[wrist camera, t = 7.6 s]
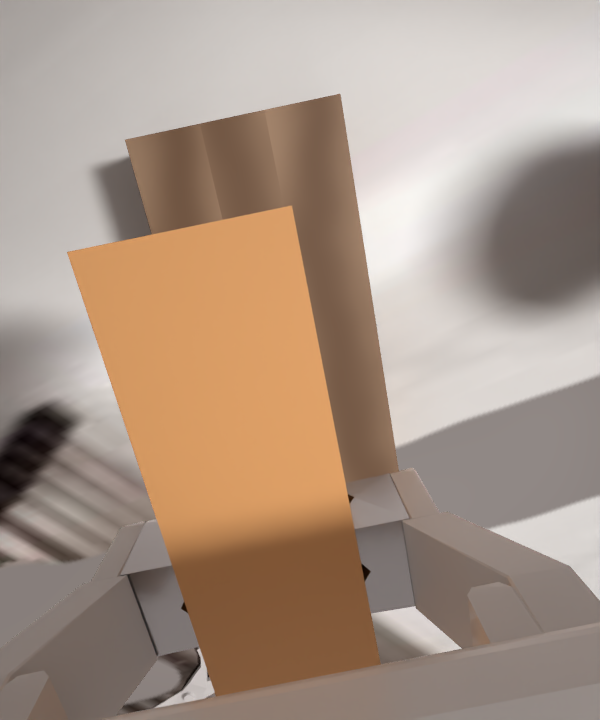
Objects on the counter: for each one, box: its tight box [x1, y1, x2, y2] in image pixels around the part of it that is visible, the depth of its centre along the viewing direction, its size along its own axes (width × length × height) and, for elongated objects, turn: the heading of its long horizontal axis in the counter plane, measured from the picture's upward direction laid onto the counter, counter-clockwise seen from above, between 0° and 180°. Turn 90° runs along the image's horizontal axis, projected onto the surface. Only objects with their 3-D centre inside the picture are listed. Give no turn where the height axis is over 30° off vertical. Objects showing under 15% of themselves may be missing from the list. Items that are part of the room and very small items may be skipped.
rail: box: [125, 94, 399, 483], centre depth 25 cm, size 10×22×3 cm, turn 11°
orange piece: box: [67, 206, 381, 696], centre depth 10 cm, size 3×12×6 cm, turn 11°
